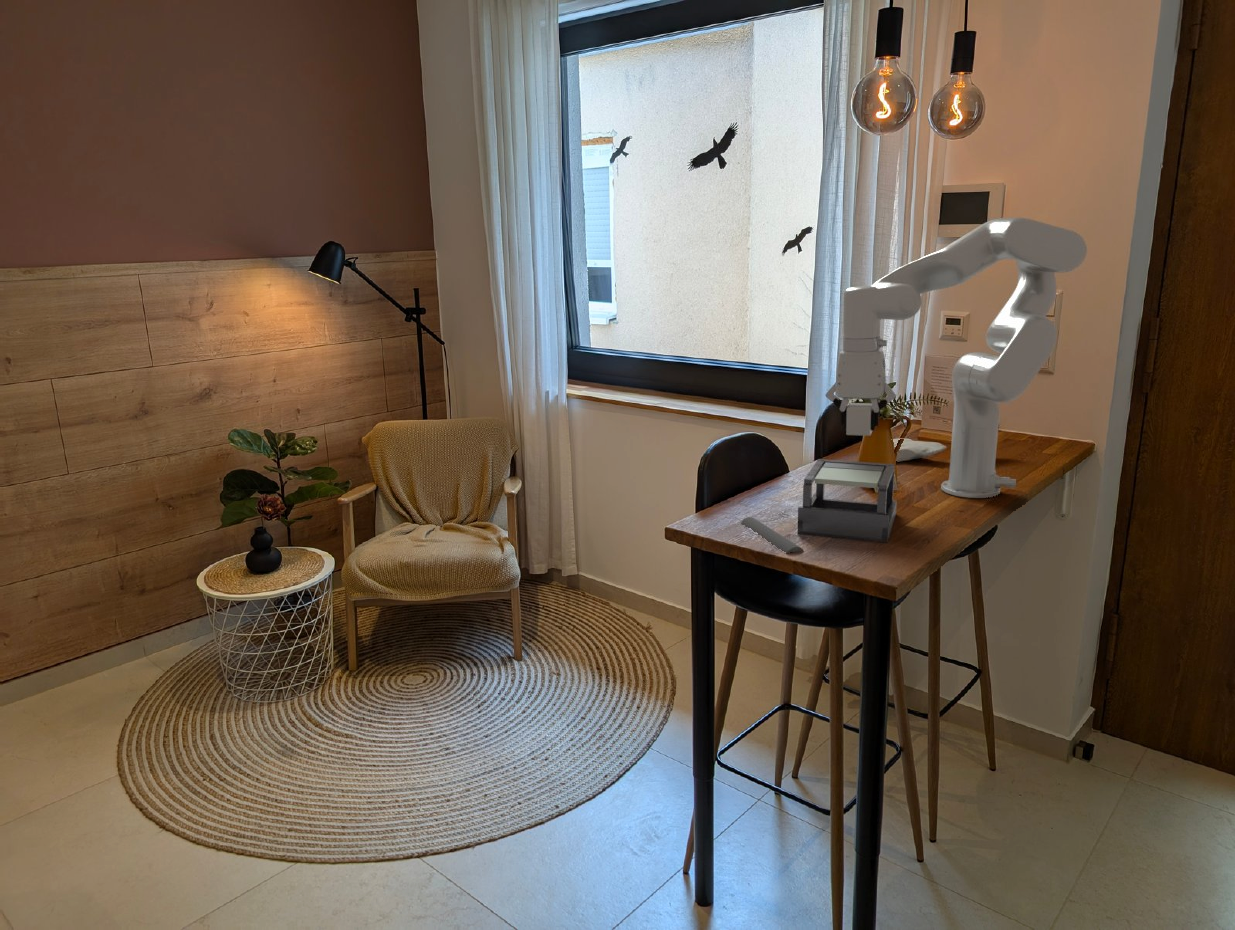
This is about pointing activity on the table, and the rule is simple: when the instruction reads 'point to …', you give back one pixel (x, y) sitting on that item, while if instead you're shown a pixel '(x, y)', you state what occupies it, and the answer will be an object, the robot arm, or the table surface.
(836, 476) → the trapdoor
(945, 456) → the table surface
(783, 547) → the gray half cylinder
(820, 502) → the trapdoor frame
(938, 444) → the rock
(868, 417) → the matte off-white cube
